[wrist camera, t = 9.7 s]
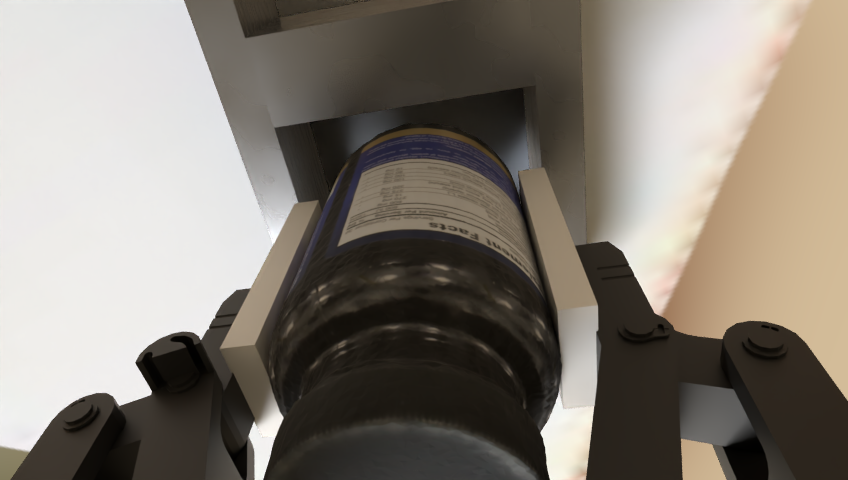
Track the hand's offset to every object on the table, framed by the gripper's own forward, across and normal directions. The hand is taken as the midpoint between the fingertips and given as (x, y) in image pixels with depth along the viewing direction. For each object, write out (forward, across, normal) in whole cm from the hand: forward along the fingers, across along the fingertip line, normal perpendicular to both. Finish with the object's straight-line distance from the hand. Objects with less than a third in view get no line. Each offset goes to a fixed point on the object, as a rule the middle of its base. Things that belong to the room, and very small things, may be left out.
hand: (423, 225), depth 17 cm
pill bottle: (+2, 0, 0) cm, 2 cm away
